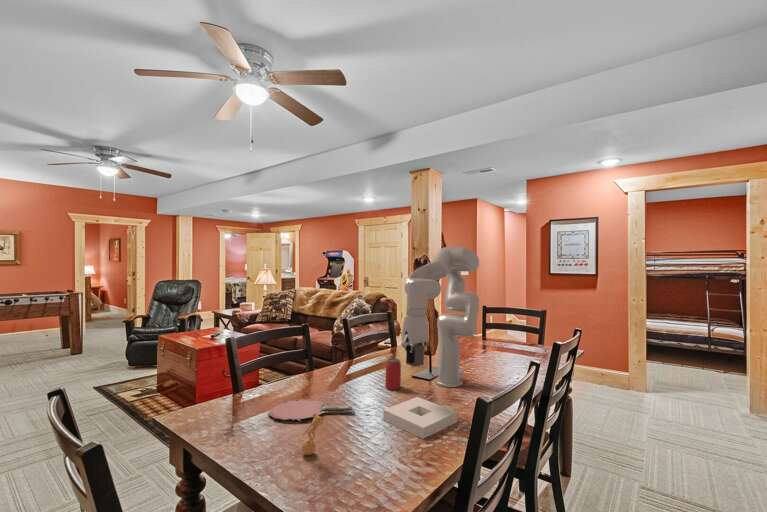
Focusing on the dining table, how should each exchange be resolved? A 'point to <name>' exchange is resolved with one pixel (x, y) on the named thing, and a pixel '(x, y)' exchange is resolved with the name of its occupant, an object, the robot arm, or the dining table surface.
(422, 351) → the plug
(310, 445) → the figurine
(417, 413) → the socket
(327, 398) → the dining table surface
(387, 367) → the beer can
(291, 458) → the dining table surface
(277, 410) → the table tennis paddle
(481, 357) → the dining table surface
